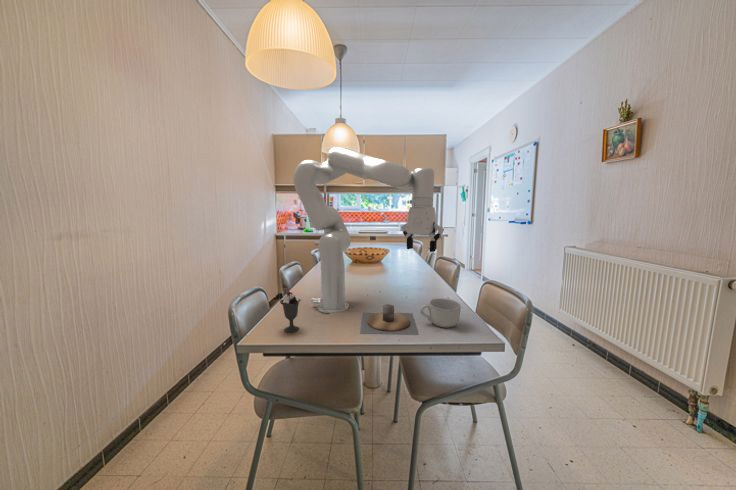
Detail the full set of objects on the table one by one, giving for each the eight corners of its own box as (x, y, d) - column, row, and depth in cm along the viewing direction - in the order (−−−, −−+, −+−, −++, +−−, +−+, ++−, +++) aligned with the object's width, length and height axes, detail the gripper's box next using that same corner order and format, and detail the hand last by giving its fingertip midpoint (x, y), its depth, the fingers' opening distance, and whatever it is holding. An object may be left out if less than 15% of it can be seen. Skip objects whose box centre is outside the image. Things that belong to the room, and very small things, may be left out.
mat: (359, 335, 93) (359, 333, 93) (363, 313, 112) (363, 312, 112) (418, 336, 92) (419, 334, 92) (412, 314, 111) (412, 313, 111)
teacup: (456, 319, 106) (457, 298, 105) (463, 332, 95) (464, 308, 94) (418, 318, 107) (418, 297, 106) (420, 330, 97) (421, 307, 96)
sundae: (284, 325, 101) (283, 283, 99) (303, 325, 100) (302, 283, 98) (278, 333, 94) (276, 289, 92) (298, 333, 94) (297, 289, 92)
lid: (366, 331, 95) (366, 313, 94) (368, 314, 110) (368, 299, 109) (412, 331, 94) (412, 314, 93) (407, 315, 109) (407, 299, 108)
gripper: (396, 203, 107) (395, 248, 109) (439, 203, 95) (437, 254, 97) (408, 203, 112) (407, 246, 114) (449, 203, 101) (447, 251, 103)
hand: (420, 250), depth 106 cm, fingers open, 9 cm apart
